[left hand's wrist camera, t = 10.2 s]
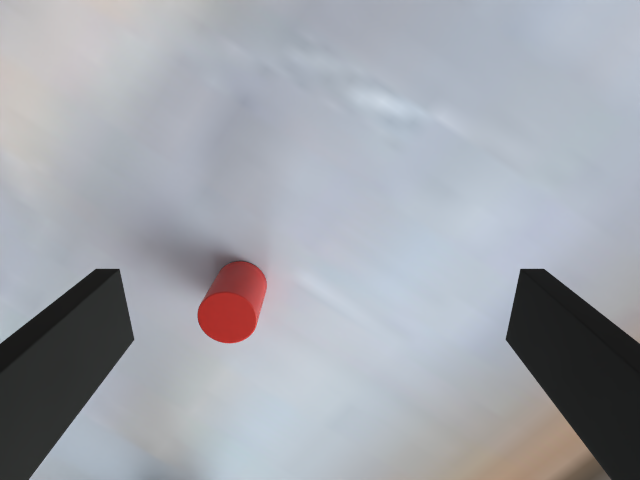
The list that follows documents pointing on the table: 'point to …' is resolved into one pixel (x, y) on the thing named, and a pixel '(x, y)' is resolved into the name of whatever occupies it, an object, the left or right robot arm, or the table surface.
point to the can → (233, 303)
